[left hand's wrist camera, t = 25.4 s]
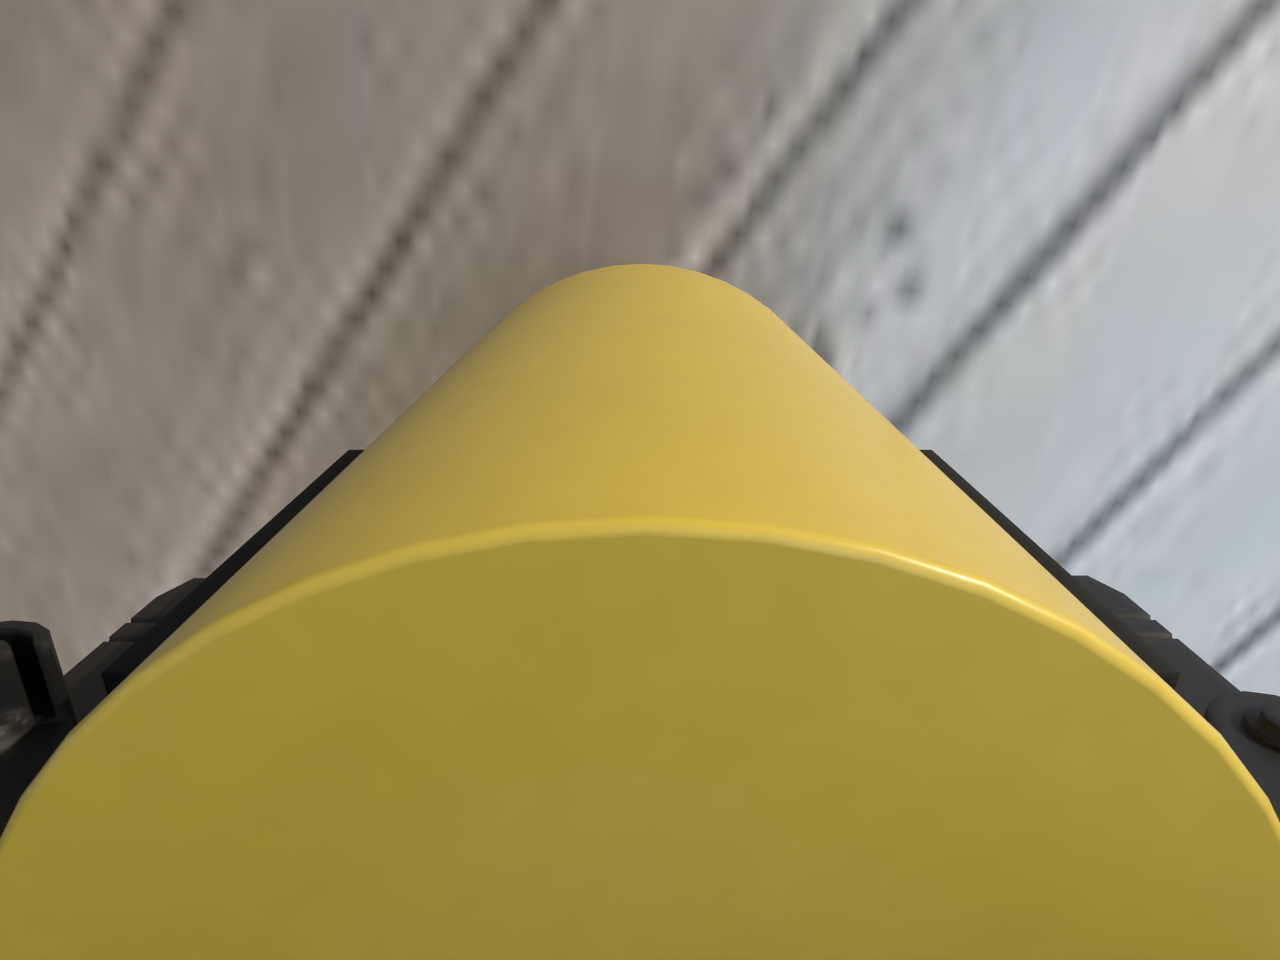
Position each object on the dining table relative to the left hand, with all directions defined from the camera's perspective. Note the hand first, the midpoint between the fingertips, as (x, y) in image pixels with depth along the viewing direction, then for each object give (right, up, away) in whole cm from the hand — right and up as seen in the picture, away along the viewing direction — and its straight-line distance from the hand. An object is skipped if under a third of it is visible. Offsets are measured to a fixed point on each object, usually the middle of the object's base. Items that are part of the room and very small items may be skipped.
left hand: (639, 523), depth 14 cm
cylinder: (0, +1, +3) cm, 3 cm away
